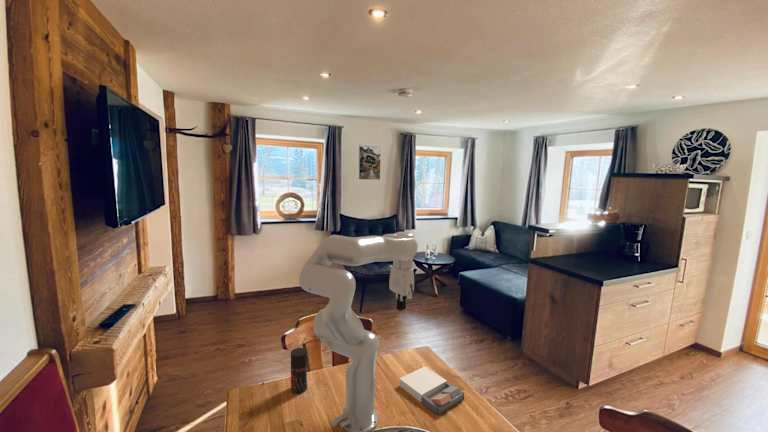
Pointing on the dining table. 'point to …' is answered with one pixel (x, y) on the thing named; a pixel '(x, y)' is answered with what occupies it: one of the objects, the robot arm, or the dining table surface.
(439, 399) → the terracotta tile
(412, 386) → the board
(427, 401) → the tray
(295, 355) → the deodorant
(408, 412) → the dining table surface
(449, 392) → the slate tile
